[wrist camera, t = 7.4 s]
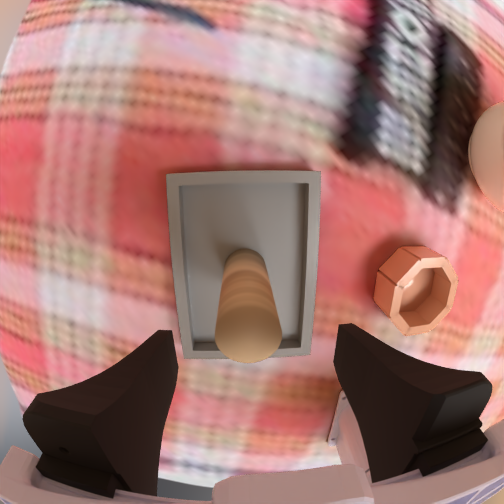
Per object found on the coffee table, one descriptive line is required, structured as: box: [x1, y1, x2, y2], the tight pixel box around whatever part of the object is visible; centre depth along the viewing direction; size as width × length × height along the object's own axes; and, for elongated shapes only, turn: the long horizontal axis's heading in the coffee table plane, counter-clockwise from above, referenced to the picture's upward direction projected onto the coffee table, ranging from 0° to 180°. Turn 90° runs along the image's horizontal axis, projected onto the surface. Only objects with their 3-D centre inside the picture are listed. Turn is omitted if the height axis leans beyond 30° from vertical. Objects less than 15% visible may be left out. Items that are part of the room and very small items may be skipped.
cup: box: [373, 246, 458, 336], centre depth 22 cm, size 7×7×3 cm
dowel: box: [215, 249, 282, 363], centre depth 17 cm, size 3×3×9 cm
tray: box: [166, 170, 321, 359], centre depth 21 cm, size 14×10×2 cm
